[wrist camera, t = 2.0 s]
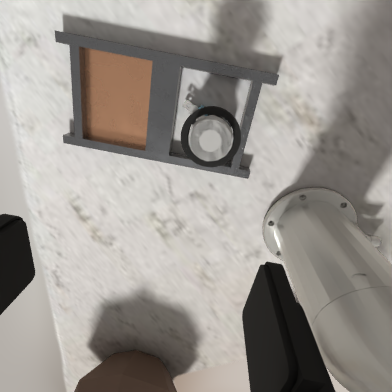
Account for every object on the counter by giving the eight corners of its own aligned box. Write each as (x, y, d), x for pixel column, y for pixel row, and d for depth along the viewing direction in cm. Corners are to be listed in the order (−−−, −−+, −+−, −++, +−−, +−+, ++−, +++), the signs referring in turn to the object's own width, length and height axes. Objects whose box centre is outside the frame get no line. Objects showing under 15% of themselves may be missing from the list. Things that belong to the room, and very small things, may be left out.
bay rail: (275, 75, 26) (279, 74, 25) (246, 174, 31) (248, 178, 30) (63, 33, 26) (54, 30, 25) (70, 140, 31) (63, 142, 30)
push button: (173, 119, 29) (154, 136, 20) (200, 81, 27) (192, 81, 18) (215, 152, 30) (214, 182, 21) (243, 119, 28) (255, 136, 19)
